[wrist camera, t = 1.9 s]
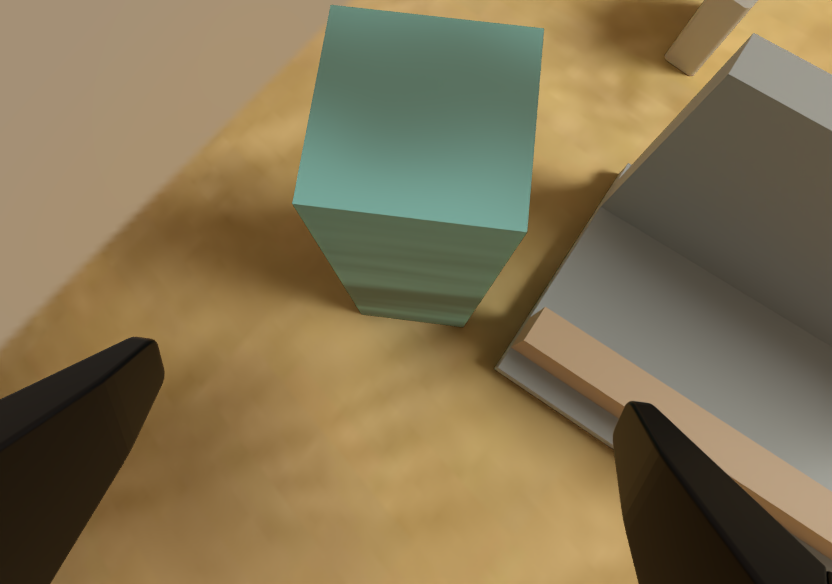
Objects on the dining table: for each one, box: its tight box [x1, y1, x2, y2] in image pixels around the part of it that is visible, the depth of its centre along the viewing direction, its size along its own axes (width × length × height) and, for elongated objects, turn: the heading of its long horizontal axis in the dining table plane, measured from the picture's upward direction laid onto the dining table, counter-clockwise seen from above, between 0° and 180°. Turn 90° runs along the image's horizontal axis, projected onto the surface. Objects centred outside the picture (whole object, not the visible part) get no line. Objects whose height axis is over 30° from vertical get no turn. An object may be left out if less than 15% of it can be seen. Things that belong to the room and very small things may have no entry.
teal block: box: [292, 5, 544, 327], centre depth 16 cm, size 4×4×12 cm
